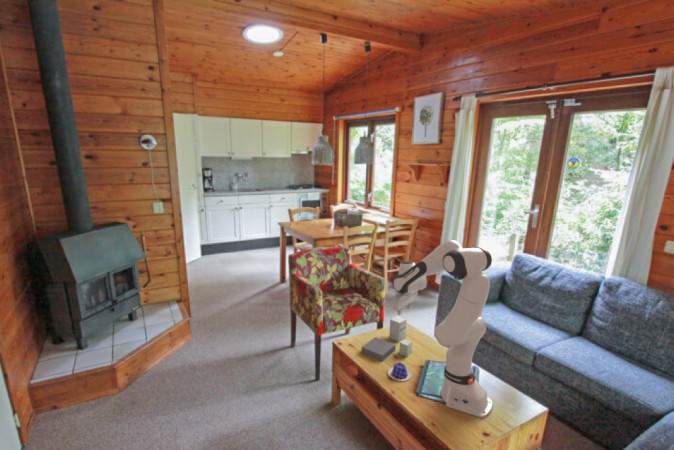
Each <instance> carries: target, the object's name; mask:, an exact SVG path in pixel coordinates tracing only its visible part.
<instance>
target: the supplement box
mask: <svg viewBox="0 0 674 450" xmlns="http://www.w3.org/2000/svg"><path fill="white" fill-rule="evenodd" d="M389 338H390V339H391V340H393V341H396V342H397V343H400V342H401V341H402V340H403V339H406V338H407V319H406V318H404V317H401V316H400V315H396V316H394V317H392V318H390V321H389Z"/></svg>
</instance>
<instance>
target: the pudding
mask: <svg viewBox="0 0 674 450" xmlns="http://www.w3.org/2000/svg"><path fill="white" fill-rule="evenodd" d="M387 374H388V376H389V378H391V379H393V380H394V381H397V382H398V381H399V382H405V381H408V380H410V379H411V378H412V372H411V371H410V370H409V369H408V368H407V367H406V365H405V364H404V363H401V362H396V363H394V365H393V366H392V367H391V368H389V369H388V370H387Z"/></svg>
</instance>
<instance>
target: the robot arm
mask: <svg viewBox="0 0 674 450" xmlns="http://www.w3.org/2000/svg"><path fill="white" fill-rule="evenodd" d="M492 263H493V259H492V255H491V253H490V251H489V250H488V249H486V248H483V247H479V246H472V247H471V246H469V247H465V248H464V247H463V246H462V245H461V244H460V243H459V242H458V241H456V240H454V239H450V240H446V241H444V242H443V243H441V244H439V245H438V246H437V247H436V248H434V249H433V251H431V252H430V253H429V254H428V255H426V257H424V258H423V259H421V260H420V261H418V262H417V263H415V261H412V260H405V261H402V262H400V264H399V268H398V274H397V275H396V276H395V277H394V279H393V288H394V290H395V291H396V292H397V293H396V294H395V295H394V297H393V299H392V304H391V305H392V306H391V307H392V309H394V310H396V311H397V316H401V315H402V314H403V312H402V311H401V310H402V308H404V307H406V309H408V310H410V309H411V308H412V305H413V301H415V300H416V299H417V298H418V291H422V290H424V289H426V288H427V286H428V284H429V283H428V282H429V280H428V276H433V275H438V274H442V273H444V272H447V273H448V275H450V276H451V277H453V278H454V279H455V280H457V281H461V285H460V286H461V287H460V289H459V292H458V294H457V295H458V296H457V298H456V301H455V304H454V306H453V307H452V309H451V310H450V312H449V313H448V314H447V316H446V317H445V318H444V319H443V320H442V321H441V322H440V323H439V324H438V325H437V326H436V327H435V329H434V336H435V339H436V341H437V342H438V344H439V345H441V347H444V348H448V349H446V354H445V365H444V369H443V377H444V378H443V383H442V388H441V389H440V392H441V394H440V397H441V398H442V400H443V401H444V402H445V405H446V407H448V408H449V409H454V410H456V411H458V412H461V413H465V414H469V415H472V416H475V417H478V418H485V417H487V416H488V415H490V413H491V411H492V409H493V401H492V399H491V398H489V397H488V393H487V389H485V387H483V386H482V385H481V383H480V382H478V381H477V380H476V376H477V372H474V373H473V371H472V363H473V362H472V361H473V356H474V353H475V351H476V348H477V346H478V345H479V342H480V341H481V338H482V337H484V335H485V334H486V331H487V325H486V322H485V320H484V318H482V316H481V315H482V314H483V311H484V308H485V305H486V302H487V300H488V297H489V292H490V288H491V287H490V286H491V280H490V278H489V277H488V276H487V274H485V273H483V271H486V270H488V269H489V268H490V267H491V265H492Z"/></svg>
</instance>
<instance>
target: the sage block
mask: <svg viewBox="0 0 674 450" xmlns="http://www.w3.org/2000/svg"><path fill="white" fill-rule="evenodd" d="M412 346H413V342H412V341H410V340H408V339H406V338H405V339H403V340H401V341H399V351H398V352H399V354H400V355H402V356H403V357H404V356H405V357H407V358H408V357H409V356H410V355H411V354H412V349H413V348H412Z"/></svg>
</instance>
